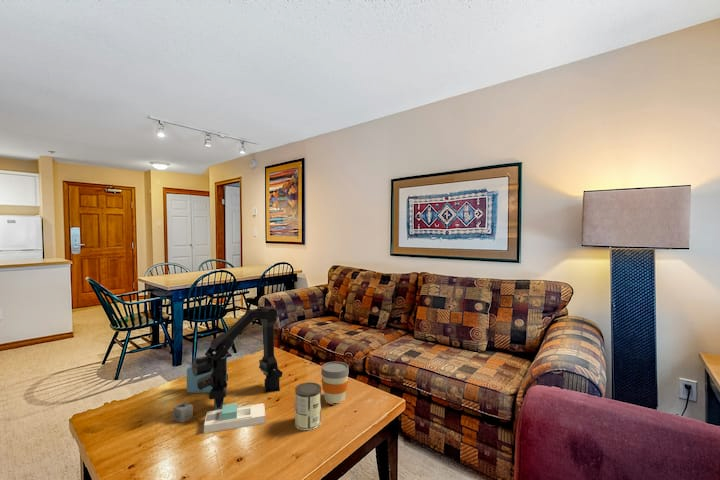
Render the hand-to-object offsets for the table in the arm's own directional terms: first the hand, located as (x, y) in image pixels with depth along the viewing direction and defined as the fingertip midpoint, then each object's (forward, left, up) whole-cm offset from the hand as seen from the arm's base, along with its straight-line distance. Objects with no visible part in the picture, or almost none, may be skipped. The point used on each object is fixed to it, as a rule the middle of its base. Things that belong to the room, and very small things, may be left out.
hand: (219, 405), depth 140 cm
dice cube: (+13, +3, -2) cm, 14 cm away
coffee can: (-34, +22, -2) cm, 41 cm away
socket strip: (-7, +12, -2) cm, 14 cm away
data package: (+9, -20, -2) cm, 22 cm away
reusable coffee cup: (-49, +7, -2) cm, 50 cm away
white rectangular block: (0, 0, -2) cm, 2 cm away
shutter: (-5, +12, +2) cm, 13 cm away
